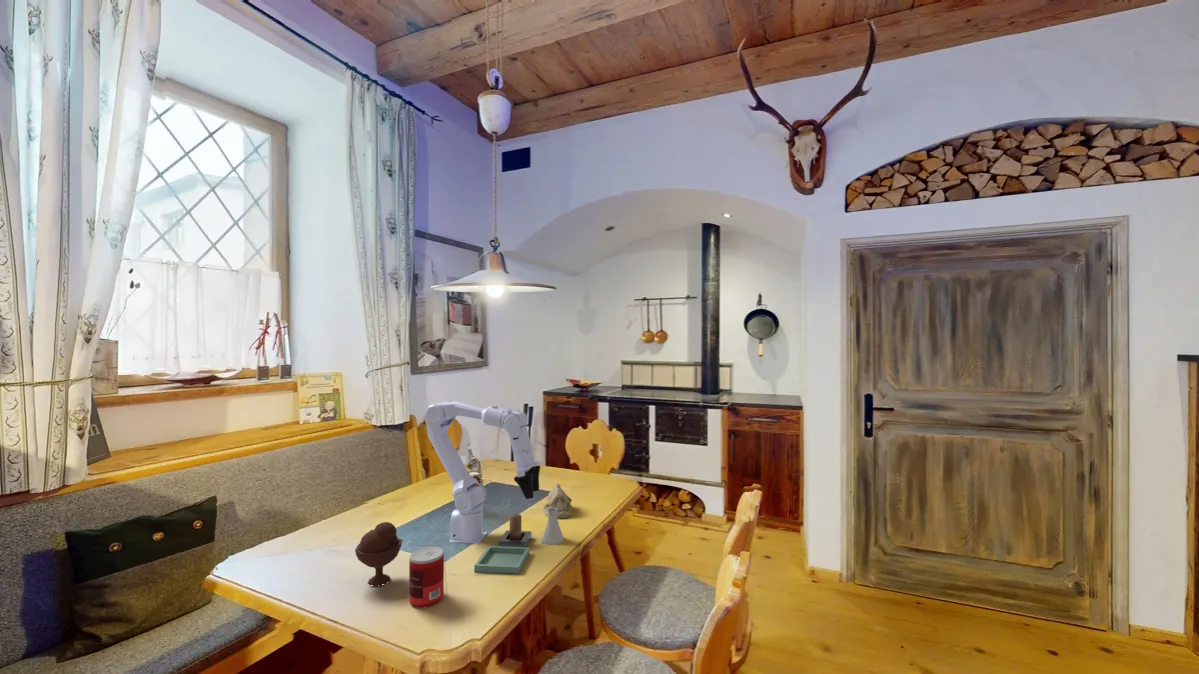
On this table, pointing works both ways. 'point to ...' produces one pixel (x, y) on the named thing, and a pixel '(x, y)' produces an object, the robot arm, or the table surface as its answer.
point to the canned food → (426, 576)
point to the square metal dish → (507, 542)
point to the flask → (552, 529)
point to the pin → (515, 527)
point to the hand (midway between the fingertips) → (532, 494)
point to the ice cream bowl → (379, 550)
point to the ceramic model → (559, 503)
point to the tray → (502, 560)
